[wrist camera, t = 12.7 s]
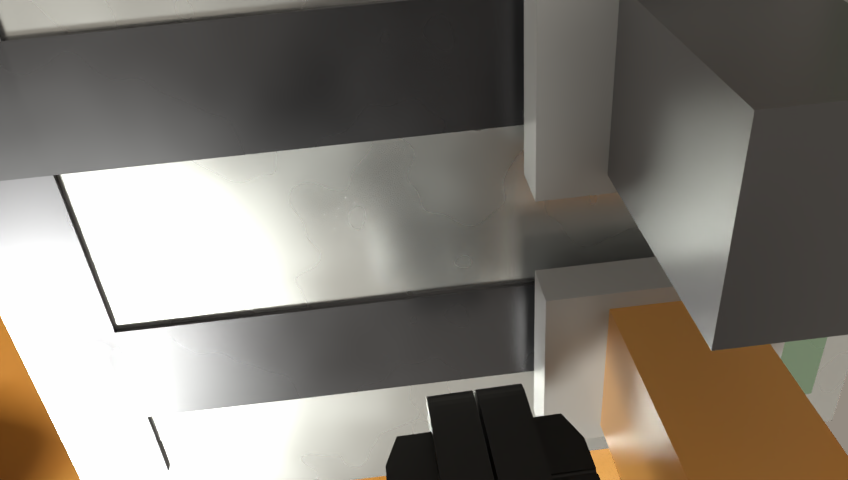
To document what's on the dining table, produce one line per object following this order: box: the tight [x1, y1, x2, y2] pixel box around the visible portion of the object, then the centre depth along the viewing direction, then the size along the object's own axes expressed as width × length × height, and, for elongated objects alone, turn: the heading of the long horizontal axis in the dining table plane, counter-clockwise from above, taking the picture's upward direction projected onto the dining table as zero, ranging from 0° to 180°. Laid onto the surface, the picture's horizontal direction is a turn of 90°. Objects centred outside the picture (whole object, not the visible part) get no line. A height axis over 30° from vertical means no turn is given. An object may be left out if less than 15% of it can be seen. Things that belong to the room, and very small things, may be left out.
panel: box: [0, 0, 848, 480], centre depth 13 cm, size 17×15×6 cm
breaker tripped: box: [534, 257, 848, 480], centre depth 12 cm, size 3×4×4 cm
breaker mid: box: [524, 0, 848, 351], centre depth 9 cm, size 3×4×4 cm
